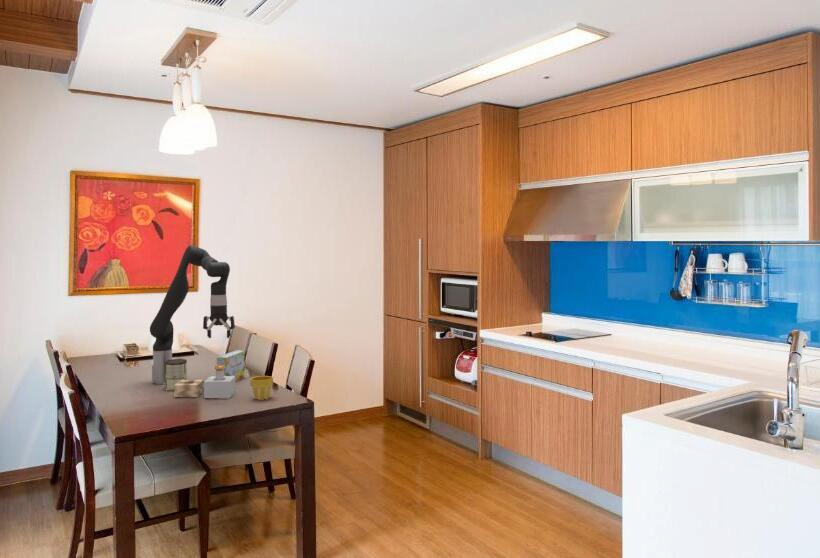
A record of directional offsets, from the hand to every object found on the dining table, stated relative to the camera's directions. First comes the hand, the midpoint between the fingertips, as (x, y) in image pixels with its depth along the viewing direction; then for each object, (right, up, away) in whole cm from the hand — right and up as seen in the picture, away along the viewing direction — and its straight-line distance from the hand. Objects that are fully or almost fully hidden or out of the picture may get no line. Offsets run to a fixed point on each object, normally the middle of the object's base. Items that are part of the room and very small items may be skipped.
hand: (219, 337), depth 295 cm
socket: (0, -28, +2) cm, 28 cm away
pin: (0, -28, +2) cm, 28 cm away
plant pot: (+21, -28, -4) cm, 36 cm away
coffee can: (-26, -27, +15) cm, 40 cm away
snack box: (-3, -26, +31) cm, 40 cm away
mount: (-15, -28, +3) cm, 32 cm away
